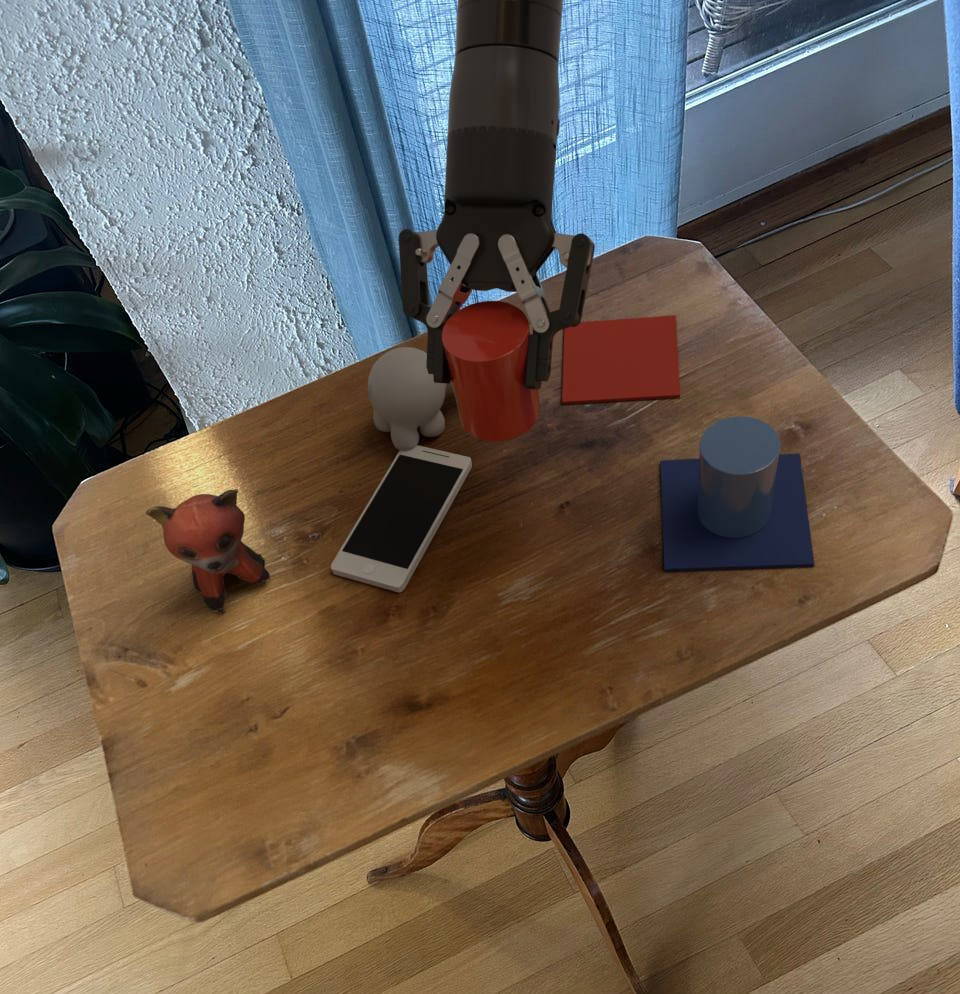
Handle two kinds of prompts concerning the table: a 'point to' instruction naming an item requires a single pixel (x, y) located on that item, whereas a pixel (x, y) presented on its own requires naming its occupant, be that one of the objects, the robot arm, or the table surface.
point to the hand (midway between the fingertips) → (487, 385)
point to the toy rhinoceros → (406, 397)
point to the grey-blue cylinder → (737, 476)
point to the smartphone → (402, 518)
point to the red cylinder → (491, 370)
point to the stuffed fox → (210, 543)
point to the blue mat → (704, 550)
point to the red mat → (621, 360)
